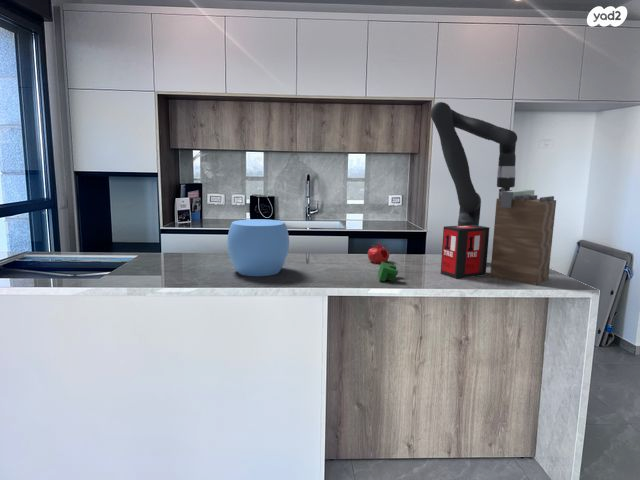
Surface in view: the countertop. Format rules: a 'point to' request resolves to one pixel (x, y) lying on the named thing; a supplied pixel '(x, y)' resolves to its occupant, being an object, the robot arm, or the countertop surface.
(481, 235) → the cleaning product box
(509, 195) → the grey-green flat block
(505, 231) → the wooden box
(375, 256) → the pomegranate
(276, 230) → the planter
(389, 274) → the green blocky piece
